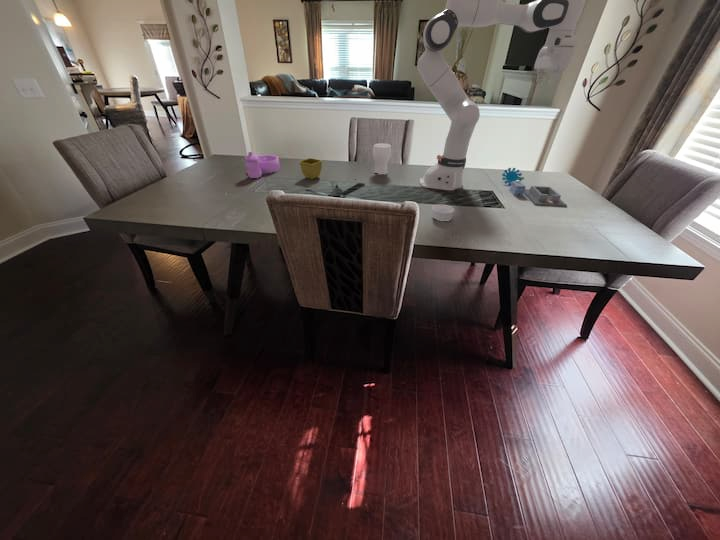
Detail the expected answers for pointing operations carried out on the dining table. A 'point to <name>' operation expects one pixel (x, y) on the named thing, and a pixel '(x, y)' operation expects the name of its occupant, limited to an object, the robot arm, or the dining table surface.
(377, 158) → the cup
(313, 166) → the flower pot
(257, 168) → the container set
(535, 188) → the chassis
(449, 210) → the ramekin
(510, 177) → the blue virus model
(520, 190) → the servo
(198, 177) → the dining table surface
